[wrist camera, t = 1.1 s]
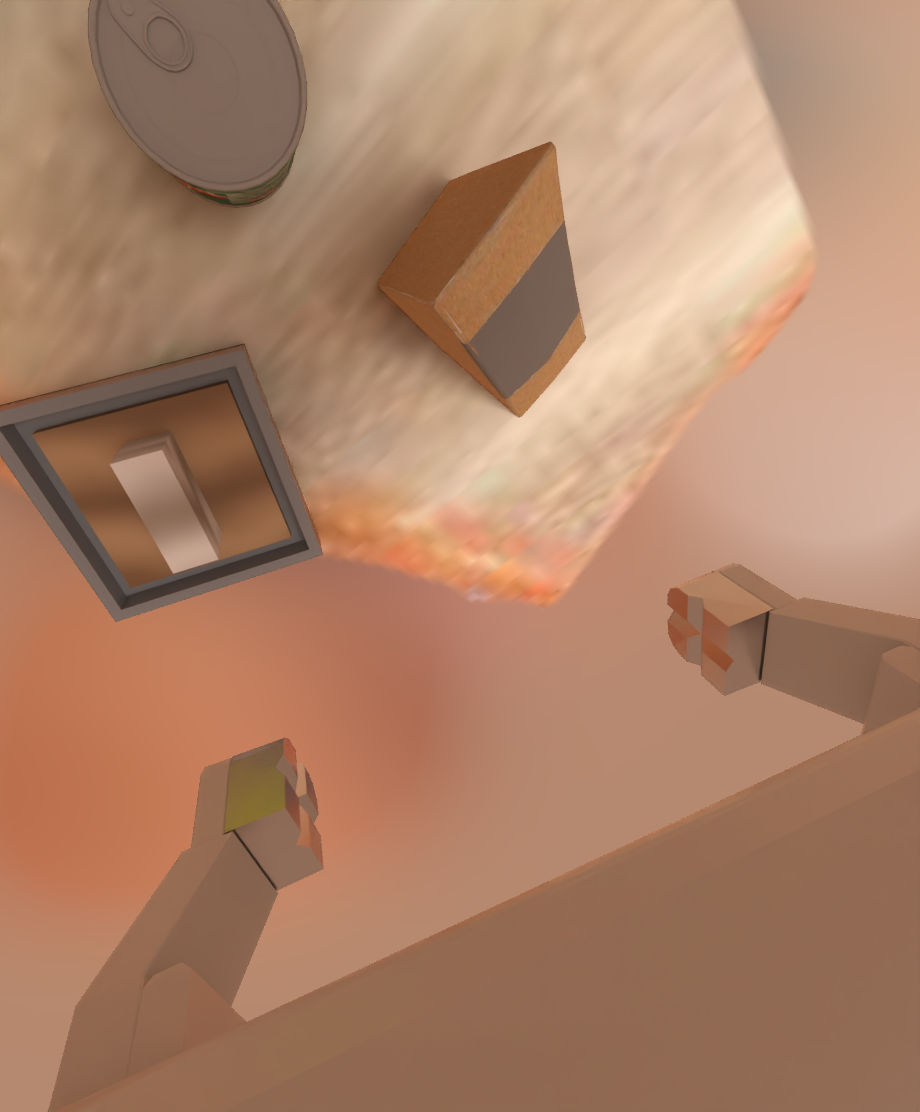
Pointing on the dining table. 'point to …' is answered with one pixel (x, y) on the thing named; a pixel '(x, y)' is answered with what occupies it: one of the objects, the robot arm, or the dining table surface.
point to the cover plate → (205, 455)
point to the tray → (16, 421)
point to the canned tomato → (205, 89)
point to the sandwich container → (495, 277)
